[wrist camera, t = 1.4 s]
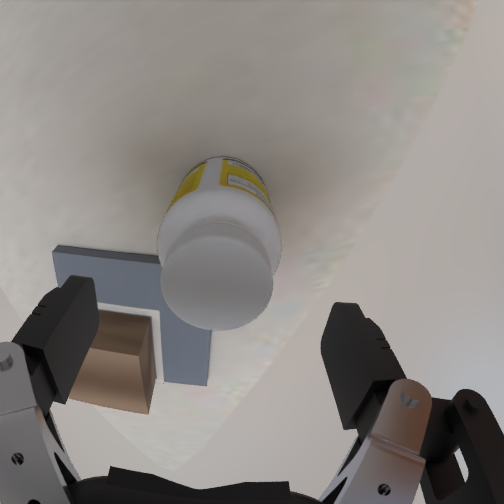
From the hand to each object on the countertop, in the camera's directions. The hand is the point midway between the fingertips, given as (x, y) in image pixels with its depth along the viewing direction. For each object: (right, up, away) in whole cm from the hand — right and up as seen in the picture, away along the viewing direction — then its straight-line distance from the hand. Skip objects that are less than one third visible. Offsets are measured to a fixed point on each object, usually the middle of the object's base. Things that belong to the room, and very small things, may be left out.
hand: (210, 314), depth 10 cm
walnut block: (-10, -5, +13) cm, 17 cm away
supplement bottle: (0, +5, +10) cm, 11 cm away
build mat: (-8, -3, +14) cm, 16 cm away
